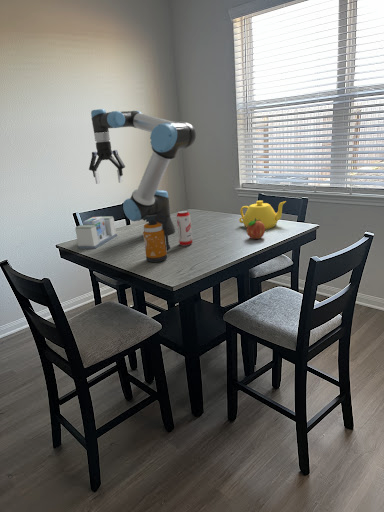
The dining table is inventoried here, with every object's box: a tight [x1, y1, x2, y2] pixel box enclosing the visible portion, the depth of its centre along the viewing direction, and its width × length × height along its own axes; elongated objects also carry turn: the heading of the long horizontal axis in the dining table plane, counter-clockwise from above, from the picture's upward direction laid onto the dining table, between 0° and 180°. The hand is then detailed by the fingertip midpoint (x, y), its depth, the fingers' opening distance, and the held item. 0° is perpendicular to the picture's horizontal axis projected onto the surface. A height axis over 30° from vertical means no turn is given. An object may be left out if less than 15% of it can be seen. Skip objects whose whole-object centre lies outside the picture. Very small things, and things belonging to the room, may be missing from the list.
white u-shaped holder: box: [74, 215, 118, 250], centre depth 204 cm, size 10×23×11 cm, turn 163°
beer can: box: [176, 210, 193, 247], centre depth 185 cm, size 6×6×16 cm
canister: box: [142, 214, 171, 263], centre depth 166 cm, size 9×11×20 cm
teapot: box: [238, 200, 287, 230], centre depth 205 cm, size 25×18×14 cm
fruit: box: [246, 218, 266, 240], centre depth 185 cm, size 9×10×10 cm
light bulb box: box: [82, 216, 107, 241], centre depth 204 cm, size 11×7×11 cm, turn 165°
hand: (109, 182), depth 208 cm, fingers open, 13 cm apart
